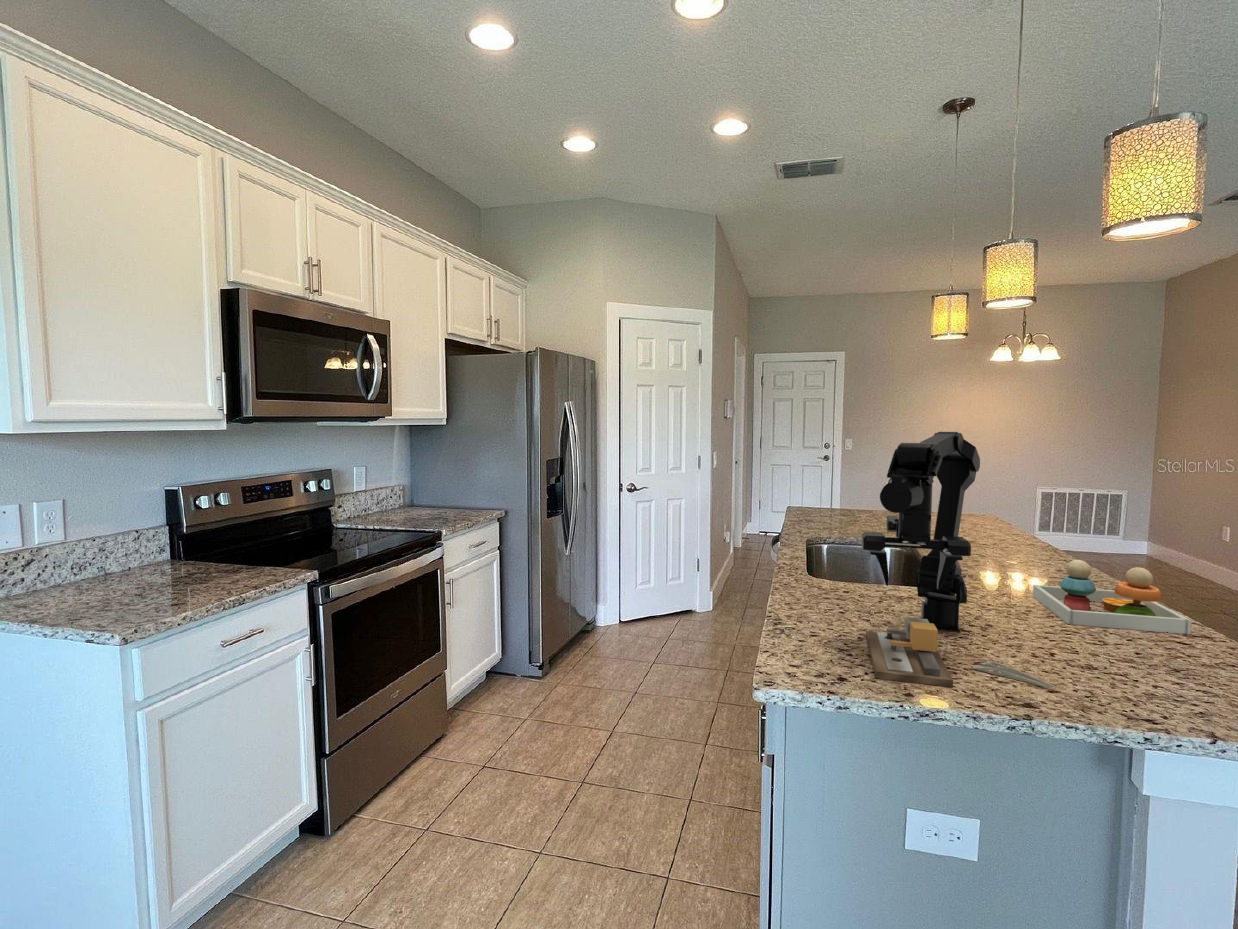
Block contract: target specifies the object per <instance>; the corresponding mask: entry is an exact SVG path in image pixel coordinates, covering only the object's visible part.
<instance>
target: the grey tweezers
mask: <svg viewBox="0 0 1238 929" xmlns="http://www.w3.org/2000/svg"><path fill="white" fill-rule="evenodd" d="M979 665H981V666H978V665H977V664H975V665H974V666H973V667H972V670H975V671H979V672H983V673H986V674H987V673H988V674H992V675H996V676H999V675H1000V677H1003V676H1005V677H1004V678H1007V677H1009V678H1008V679H1011V678H1012V680H1015V679H1016V680H1015V681H1020V682H1023V681H1026V682H1025V683H1027V682H1029V683H1028V684H1031V683H1032V685H1036V686H1039V687H1043V688H1046V687H1049V688H1048V689H1050V688H1053V687H1055V688H1053V689H1052V690H1054V689H1056V688H1059V689H1062V690H1065V691H1064V692H1066V691H1067V692H1066V693H1069V691H1068V690H1066V689H1063V688H1060V687H1058V686H1056V685H1053V684H1052V683H1049V682H1046V681H1044V680H1042V679H1039V678H1038V677H1037V678H1036V677H1034V676H1033V675H1029V674H1027V673H1025V672H1023V671H1020V670H1018V669H1016V668H1013V667H1011V666H1009V665H1005V664H1002V663H999V662H995V661H988V660H987V661H984V662H980V663H979ZM1017 675H1018V676H1017ZM1020 676H1021V677H1020ZM1059 689H1057V690H1059ZM1057 690H1056V691H1057ZM1062 690H1061V691H1062Z"/></svg>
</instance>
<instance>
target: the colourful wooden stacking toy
mask: <svg viewBox="0 0 1238 929" xmlns="http://www.w3.org/2000/svg"><path fill="white" fill-rule="evenodd" d="M1065 569H1066V570H1065V571H1066V573H1067V575H1065V576H1064V577H1063V579H1062V580H1061V582H1060V583H1059V587H1061V588H1062V589H1063V590H1064V591H1065V592H1067V593H1068V594H1067V595H1065V597H1064V600H1063V602H1062V603H1063V604H1064V605H1066V606H1067V607H1069V608H1070V609H1071V610H1080V611H1091V602H1090V600H1089V599H1088V598H1087V597H1086V596H1087V595H1090V594H1092V593H1094V592H1095V591H1096V589H1097V588H1096V586H1095V584H1094V581H1093V579H1091V578H1089V577H1090V575H1091V574H1092V568H1091V566H1090V565H1089V563H1088V562H1086V561H1085V560H1082V559H1073V560H1071V561H1069V562H1068V563H1067V565H1066V568H1065ZM1125 580H1126V581H1120V582H1118V583H1117V584H1116V586H1115V588H1114V590H1113V591H1114V592H1115V593H1116V594H1118V595H1120V596H1122V597H1126V598H1129V599H1134V600H1128V599H1121V598H1104V599H1102V601H1103V603H1102V605H1103V608H1104V610H1105V611H1108V612H1109V613H1118V614H1131V615H1143V616H1156V614H1155V613H1154V612H1153V611H1152V610H1150V609H1149V608H1148V607H1147V606H1146V605H1144V604H1143V603H1141V601H1149V602H1161V601H1162V593H1161V591H1160V589H1159V588H1157V587H1156V586H1154V585H1152V584H1153V583H1154V582H1153V581H1154V576H1153V574H1152V573H1151V572H1150V570H1148V569H1146V568H1144V567H1139V566H1137V567H1136V566H1135V567H1132V568H1130V569H1128V570H1127V572H1126V573H1125ZM1156 617H1157V616H1156Z"/></svg>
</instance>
